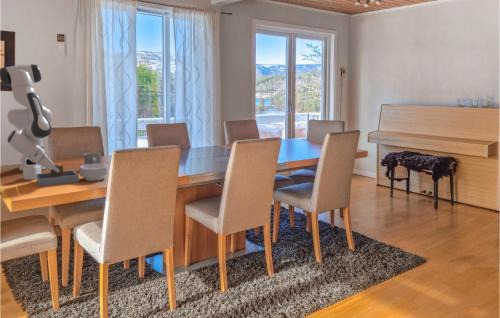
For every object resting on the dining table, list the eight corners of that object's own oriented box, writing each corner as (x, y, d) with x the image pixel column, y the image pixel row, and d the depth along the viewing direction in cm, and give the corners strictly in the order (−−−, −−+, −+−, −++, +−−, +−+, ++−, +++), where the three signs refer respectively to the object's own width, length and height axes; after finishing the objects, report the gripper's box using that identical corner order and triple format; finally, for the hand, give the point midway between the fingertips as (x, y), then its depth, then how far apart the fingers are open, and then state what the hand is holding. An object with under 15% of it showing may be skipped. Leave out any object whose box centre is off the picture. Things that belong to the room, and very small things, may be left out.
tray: (36, 181, 236) (35, 166, 235) (74, 177, 246) (73, 163, 245) (39, 187, 224) (38, 171, 222) (78, 182, 234) (77, 167, 232)
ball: (54, 168, 235) (54, 163, 234) (60, 168, 236) (60, 163, 236) (55, 169, 232) (55, 164, 232) (61, 169, 234) (61, 163, 233)
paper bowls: (106, 181, 236) (105, 167, 234) (77, 183, 233) (76, 168, 232) (110, 176, 251) (109, 162, 249) (83, 177, 248) (82, 163, 247)
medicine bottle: (41, 177, 248) (40, 157, 246) (36, 180, 241) (34, 159, 239) (29, 177, 248) (27, 157, 245) (23, 180, 241) (21, 159, 238)
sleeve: (51, 181, 236) (49, 165, 234) (62, 179, 239) (61, 164, 238) (52, 183, 231) (51, 167, 229) (64, 181, 234) (63, 166, 232)
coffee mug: (85, 168, 274) (84, 152, 272) (101, 167, 277) (100, 152, 275) (83, 172, 261) (82, 156, 259) (100, 171, 264) (99, 155, 262)
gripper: (30, 156, 235) (51, 171, 242) (34, 161, 218) (56, 178, 225) (39, 147, 237) (59, 162, 244) (43, 152, 220) (64, 169, 227)
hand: (58, 170), depth 234 cm, fingers closed on sleeve, 6 cm apart
